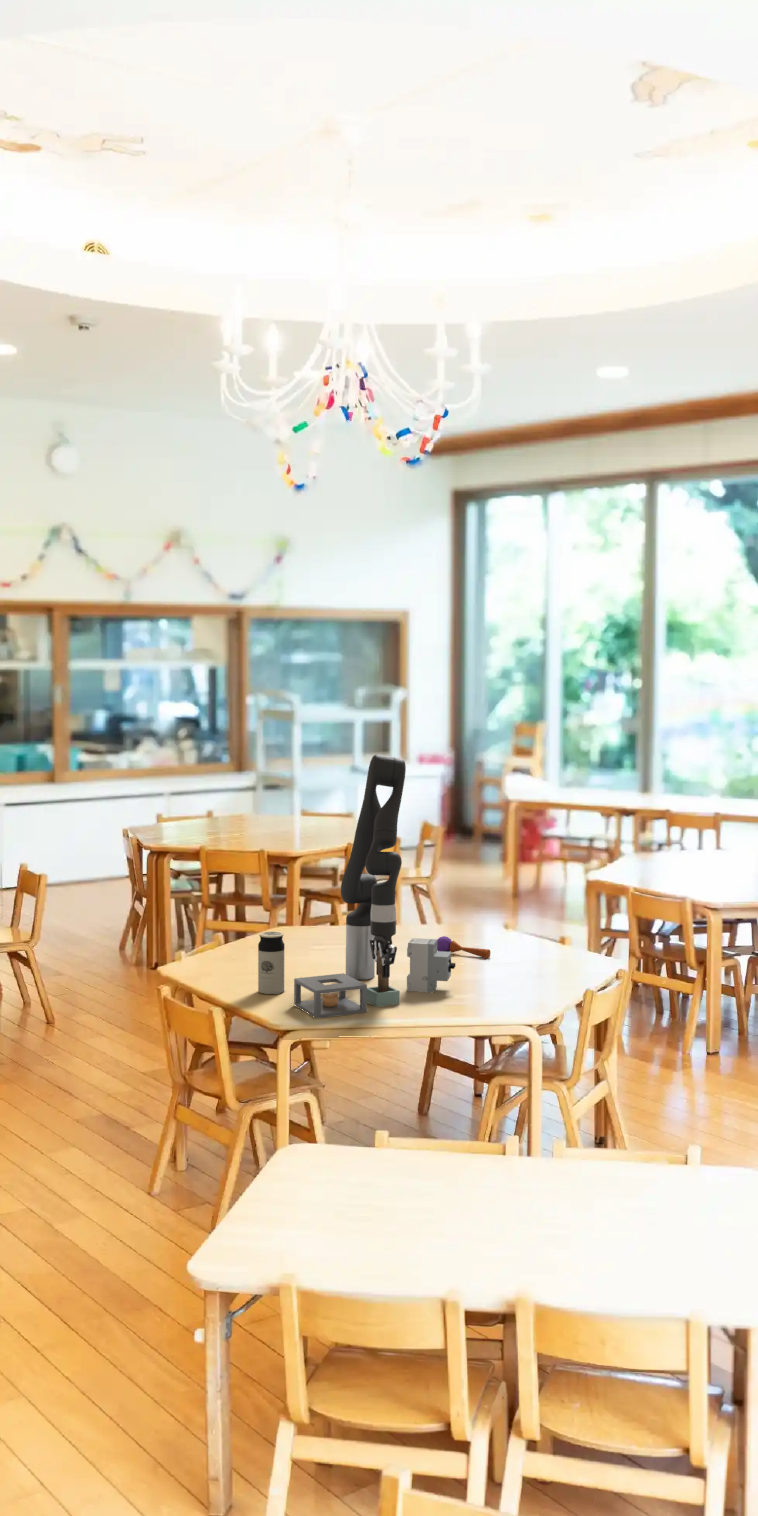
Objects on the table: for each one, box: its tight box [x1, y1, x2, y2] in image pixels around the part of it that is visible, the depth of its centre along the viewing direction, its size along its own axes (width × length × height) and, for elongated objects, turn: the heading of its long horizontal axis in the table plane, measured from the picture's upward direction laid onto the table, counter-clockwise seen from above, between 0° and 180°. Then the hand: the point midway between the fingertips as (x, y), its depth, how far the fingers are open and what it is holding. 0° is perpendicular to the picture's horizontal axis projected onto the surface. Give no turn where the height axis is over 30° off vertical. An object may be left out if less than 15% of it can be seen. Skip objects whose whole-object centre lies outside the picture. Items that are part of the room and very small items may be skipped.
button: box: [322, 992, 339, 1007], centre depth 396 cm, size 4×4×3 cm
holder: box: [367, 985, 401, 1008], centre depth 404 cm, size 8×8×4 cm
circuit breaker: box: [406, 937, 456, 993], centre depth 420 cm, size 8×14×15 cm, turn 78°
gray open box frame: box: [293, 972, 368, 1019], centre depth 396 cm, size 16×16×8 cm
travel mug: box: [257, 930, 285, 995], centre depth 416 cm, size 8×8×18 cm
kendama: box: [436, 935, 491, 960], centre depth 469 cm, size 6×6×20 cm
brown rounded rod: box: [377, 950, 390, 993], centre depth 403 cm, size 3×3×14 cm
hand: (383, 976), depth 404 cm, fingers closed on brown rounded rod, 3 cm apart
